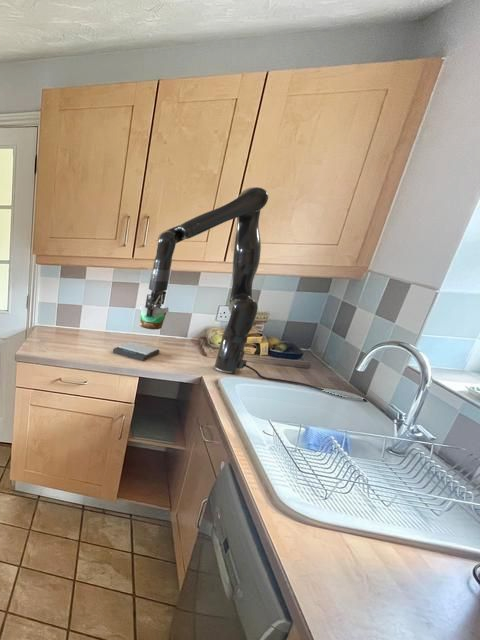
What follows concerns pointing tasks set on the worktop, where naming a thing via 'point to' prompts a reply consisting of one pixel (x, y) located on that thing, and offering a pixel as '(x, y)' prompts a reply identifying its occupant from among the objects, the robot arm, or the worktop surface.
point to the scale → (136, 351)
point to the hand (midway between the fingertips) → (152, 315)
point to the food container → (153, 318)
